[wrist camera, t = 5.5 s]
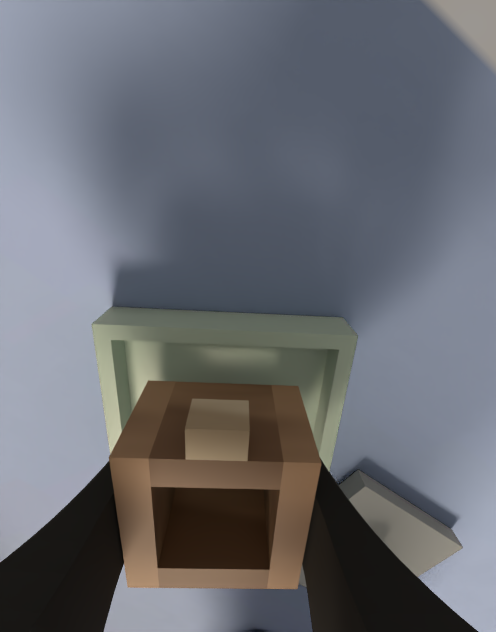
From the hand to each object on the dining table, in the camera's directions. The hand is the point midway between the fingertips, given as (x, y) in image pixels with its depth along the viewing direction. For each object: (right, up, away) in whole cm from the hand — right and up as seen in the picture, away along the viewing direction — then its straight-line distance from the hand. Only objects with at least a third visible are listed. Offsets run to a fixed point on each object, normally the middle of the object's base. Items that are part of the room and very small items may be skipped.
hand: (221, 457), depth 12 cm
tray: (0, +1, +3) cm, 3 cm away
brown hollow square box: (0, 0, +1) cm, 1 cm away
